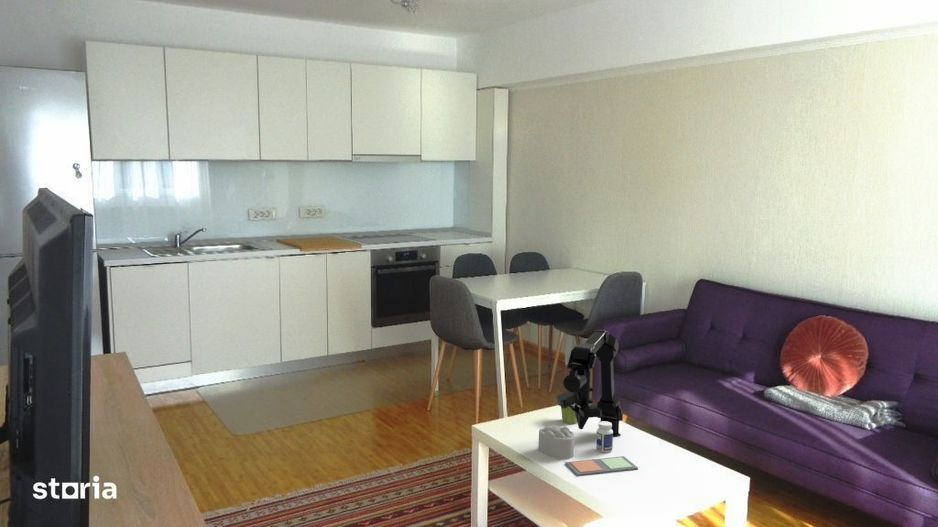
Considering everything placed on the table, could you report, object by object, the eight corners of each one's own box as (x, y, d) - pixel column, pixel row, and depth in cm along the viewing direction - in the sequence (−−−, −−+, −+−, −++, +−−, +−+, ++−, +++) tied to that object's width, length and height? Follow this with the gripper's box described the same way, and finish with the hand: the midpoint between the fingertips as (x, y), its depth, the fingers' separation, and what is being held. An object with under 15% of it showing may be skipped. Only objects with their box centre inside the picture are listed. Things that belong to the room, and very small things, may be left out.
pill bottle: (613, 448, 256) (614, 421, 255) (611, 454, 251) (612, 426, 249) (597, 446, 258) (598, 419, 257) (594, 451, 253) (595, 424, 251)
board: (623, 457, 248) (623, 455, 248) (638, 469, 238) (638, 467, 238) (565, 463, 242) (565, 461, 242) (577, 476, 232) (577, 473, 232)
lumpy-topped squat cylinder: (556, 443, 260) (557, 420, 259) (581, 455, 249) (581, 431, 248) (534, 449, 254) (535, 426, 253) (558, 462, 243) (559, 437, 242)
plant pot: (557, 416, 288) (558, 396, 287) (581, 418, 287) (582, 397, 286) (558, 425, 279) (559, 403, 278) (582, 426, 278) (583, 404, 277)
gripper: (549, 377, 244) (547, 421, 246) (570, 394, 226) (569, 441, 228) (579, 375, 247) (577, 418, 249) (603, 391, 229) (601, 438, 231)
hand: (580, 428), depth 239 cm, fingers closed
